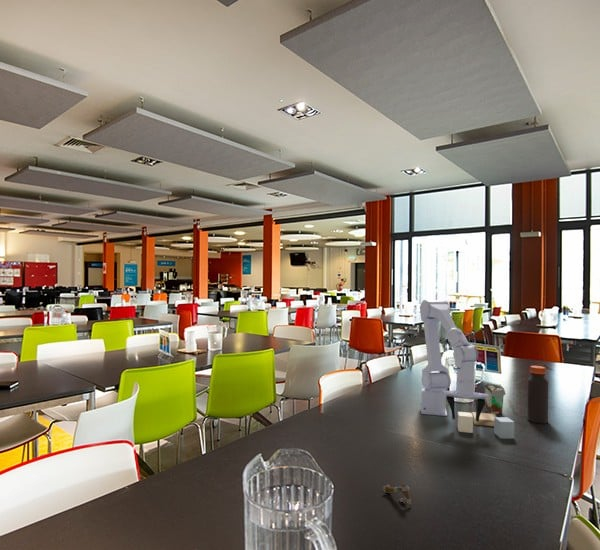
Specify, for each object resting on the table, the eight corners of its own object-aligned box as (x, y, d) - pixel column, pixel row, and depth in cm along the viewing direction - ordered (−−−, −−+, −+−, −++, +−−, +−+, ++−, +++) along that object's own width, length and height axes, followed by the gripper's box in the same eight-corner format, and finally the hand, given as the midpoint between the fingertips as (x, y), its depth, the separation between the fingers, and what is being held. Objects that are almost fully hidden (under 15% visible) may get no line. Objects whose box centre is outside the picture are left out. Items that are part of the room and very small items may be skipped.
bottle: (547, 419, 157) (547, 366, 157) (549, 425, 151) (549, 369, 151) (526, 416, 160) (526, 364, 160) (527, 422, 154) (528, 367, 154)
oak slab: (474, 425, 151) (474, 418, 151) (472, 418, 158) (472, 412, 159) (499, 427, 149) (499, 420, 149) (495, 420, 156) (495, 414, 156)
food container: (509, 418, 158) (509, 391, 158) (492, 417, 159) (492, 390, 159) (500, 408, 170) (500, 383, 170) (484, 407, 171) (484, 382, 171)
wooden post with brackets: (410, 507, 94) (405, 485, 96) (387, 506, 100) (382, 485, 102) (416, 505, 95) (410, 483, 97) (393, 504, 101) (388, 484, 103)
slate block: (500, 438, 138) (500, 421, 138) (494, 433, 142) (494, 417, 142) (514, 438, 138) (514, 421, 138) (507, 433, 142) (507, 417, 142)
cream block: (458, 431, 144) (458, 415, 144) (457, 427, 148) (457, 411, 148) (472, 433, 142) (472, 416, 142) (471, 428, 147) (471, 412, 147)
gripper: (444, 381, 143) (443, 421, 143) (490, 384, 139) (489, 425, 139) (442, 376, 150) (442, 414, 150) (486, 379, 146) (486, 418, 146)
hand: (465, 419), depth 145 cm, fingers open, 7 cm apart
